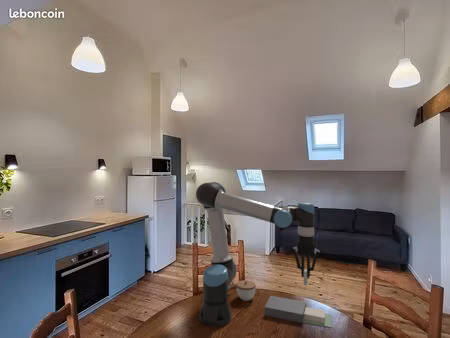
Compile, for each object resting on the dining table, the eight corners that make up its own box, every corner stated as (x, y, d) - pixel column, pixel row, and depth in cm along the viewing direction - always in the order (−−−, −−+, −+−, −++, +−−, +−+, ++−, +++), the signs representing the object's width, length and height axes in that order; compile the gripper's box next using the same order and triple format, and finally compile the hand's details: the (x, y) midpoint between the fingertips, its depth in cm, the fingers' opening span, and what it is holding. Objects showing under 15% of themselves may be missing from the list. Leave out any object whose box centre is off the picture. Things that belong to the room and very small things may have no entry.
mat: (303, 322, 121) (303, 321, 121) (305, 310, 131) (305, 310, 131) (331, 327, 116) (331, 327, 116) (331, 315, 126) (331, 314, 126)
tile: (304, 319, 123) (304, 313, 123) (305, 311, 129) (305, 306, 129) (324, 323, 119) (324, 317, 119) (325, 315, 126) (325, 310, 126)
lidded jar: (253, 304, 138) (253, 286, 138) (233, 301, 141) (233, 283, 142) (257, 295, 148) (257, 278, 149) (239, 292, 152) (239, 276, 152)
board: (264, 315, 127) (264, 306, 127) (270, 303, 139) (270, 295, 139) (303, 323, 120) (302, 314, 120) (305, 309, 132) (305, 301, 132)
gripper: (320, 234, 128) (320, 283, 127) (293, 232, 133) (292, 278, 132) (319, 238, 121) (319, 289, 120) (291, 235, 126) (290, 284, 125)
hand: (305, 283), depth 126 cm, fingers closed
